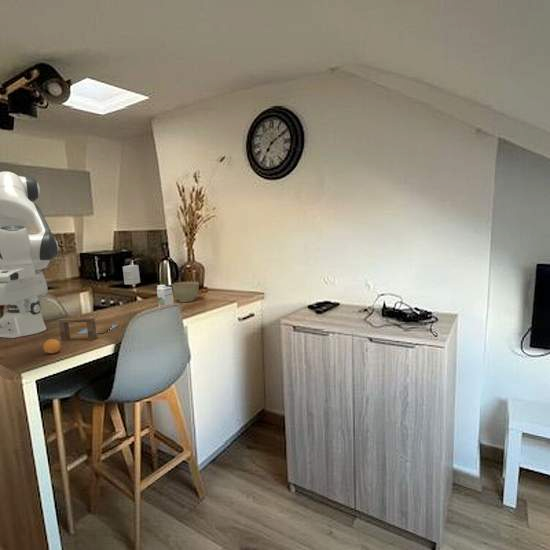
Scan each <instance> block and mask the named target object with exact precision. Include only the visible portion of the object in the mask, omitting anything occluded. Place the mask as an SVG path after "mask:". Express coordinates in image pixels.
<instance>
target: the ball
mask: <svg viewBox="0 0 550 550" xmlns="http://www.w3.org/2000/svg"><path fill="white" fill-rule="evenodd" d="M60 348H61V342H60V341H59V340H58V339H55V338H50V339H47V340H46V341H45V342H44V344H43V350H44V352H45V353H47V354H55V353H57V352H58V351H59V350H60Z"/></svg>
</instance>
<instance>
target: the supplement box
mask: <svg viewBox="0 0 550 550" xmlns="http://www.w3.org/2000/svg"><path fill="white" fill-rule="evenodd" d="M122 272H123V273H122V274H123V275H122V276H123V281H124V285H133V286H134V285H137V284H139V283H141V278H140V269H139V264H129V265H124V266H122Z"/></svg>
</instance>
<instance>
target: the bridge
mask: <svg viewBox="0 0 550 550" xmlns="http://www.w3.org/2000/svg"><path fill="white" fill-rule="evenodd" d="M69 323H86V329H87V331H88V334H87V339H88V341H95V340H96V338H97V339H98V334H97V332H96V325H97V323H96V318H95V317H93V316H92V317H62V318H59V319H58V326H59V335H60V339H61V340H66V341H68V340H70V339H71V334H70V327H69ZM69 338H70V339H69ZM67 339H68V340H67ZM94 339H95V340H94ZM61 340H60V341H61Z"/></svg>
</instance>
